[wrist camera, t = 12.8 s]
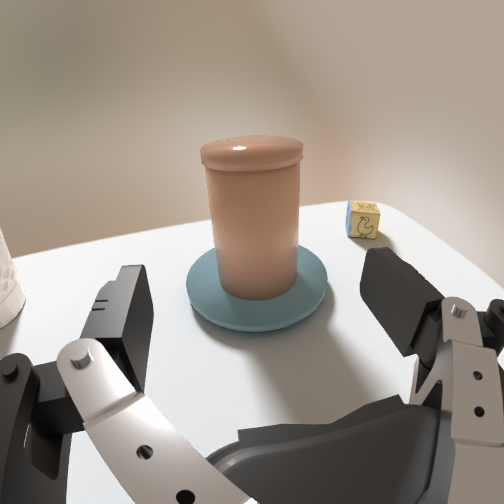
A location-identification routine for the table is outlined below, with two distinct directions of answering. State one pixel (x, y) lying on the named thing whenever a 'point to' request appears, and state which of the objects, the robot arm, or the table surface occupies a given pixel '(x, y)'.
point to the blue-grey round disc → (256, 311)
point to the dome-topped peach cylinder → (254, 212)
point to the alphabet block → (362, 219)
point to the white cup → (9, 287)
